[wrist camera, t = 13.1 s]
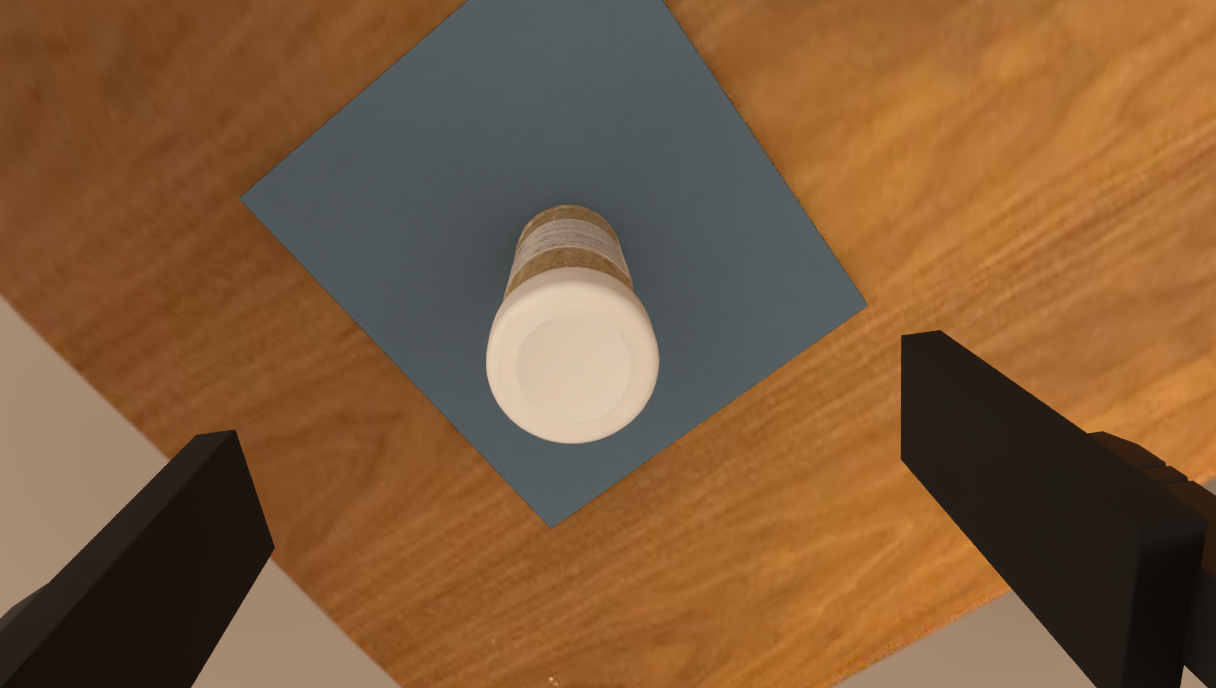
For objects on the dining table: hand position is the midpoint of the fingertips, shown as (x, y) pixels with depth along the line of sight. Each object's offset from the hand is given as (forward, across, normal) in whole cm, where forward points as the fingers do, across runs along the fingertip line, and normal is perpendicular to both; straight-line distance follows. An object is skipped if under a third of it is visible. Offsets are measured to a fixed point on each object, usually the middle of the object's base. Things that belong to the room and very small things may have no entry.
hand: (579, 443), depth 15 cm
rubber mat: (+19, 0, 0) cm, 19 cm away
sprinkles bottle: (+18, 0, 0) cm, 18 cm away
